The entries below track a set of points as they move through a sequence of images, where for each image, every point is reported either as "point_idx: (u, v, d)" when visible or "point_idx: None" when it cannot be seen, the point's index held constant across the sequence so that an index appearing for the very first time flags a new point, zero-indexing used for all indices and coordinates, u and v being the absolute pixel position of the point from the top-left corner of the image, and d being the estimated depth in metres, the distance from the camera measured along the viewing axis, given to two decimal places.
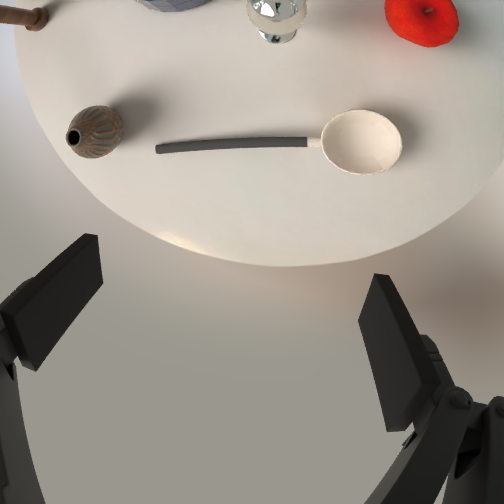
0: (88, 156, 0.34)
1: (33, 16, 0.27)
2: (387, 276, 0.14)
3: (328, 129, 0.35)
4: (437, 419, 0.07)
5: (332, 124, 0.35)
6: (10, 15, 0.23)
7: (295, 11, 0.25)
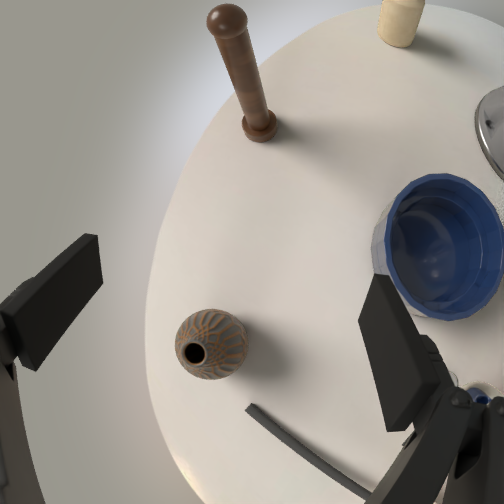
0: (186, 369, 0.28)
1: (263, 122, 0.33)
2: (387, 276, 0.14)
3: None
4: (437, 419, 0.07)
5: None
6: (253, 98, 0.28)
7: None
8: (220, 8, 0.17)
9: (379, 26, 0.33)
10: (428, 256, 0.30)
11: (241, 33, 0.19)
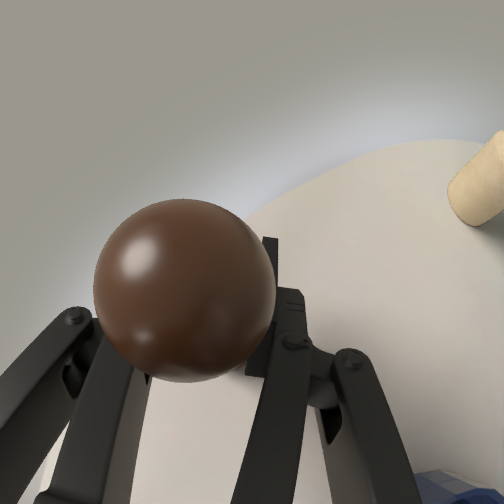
0: None
1: None
2: (275, 239, 0.16)
3: None
4: (273, 367, 0.08)
5: None
6: None
7: None
8: (151, 267, 0.04)
9: (456, 186, 0.25)
10: None
11: None
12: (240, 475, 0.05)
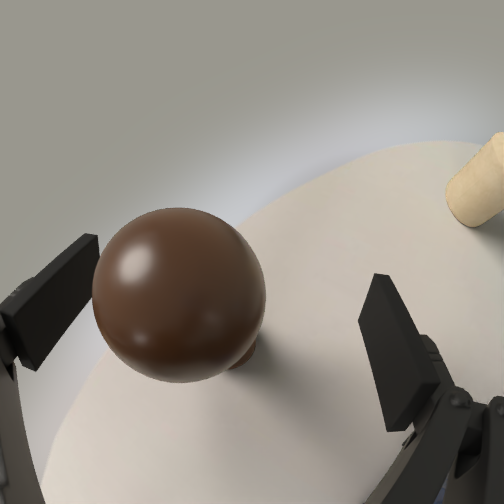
0: None
1: None
2: (387, 276, 0.14)
3: None
4: (437, 419, 0.07)
5: None
6: None
7: None
8: (146, 274, 0.04)
9: (454, 187, 0.25)
10: None
11: None
12: None
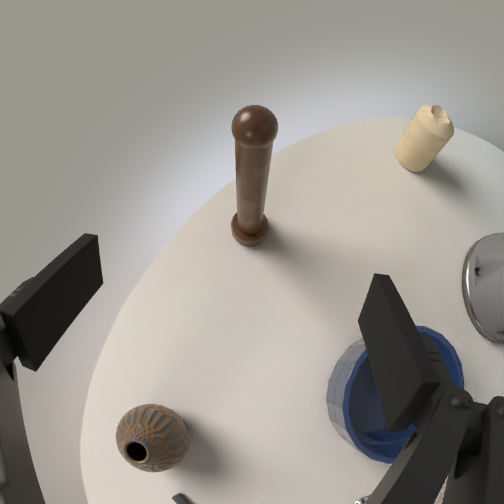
0: None
1: (255, 228, 0.33)
2: (387, 276, 0.14)
3: None
4: (437, 419, 0.07)
5: None
6: (252, 207, 0.28)
7: None
8: (253, 112, 0.18)
9: (398, 145, 0.39)
10: None
11: (266, 147, 0.20)
12: None
